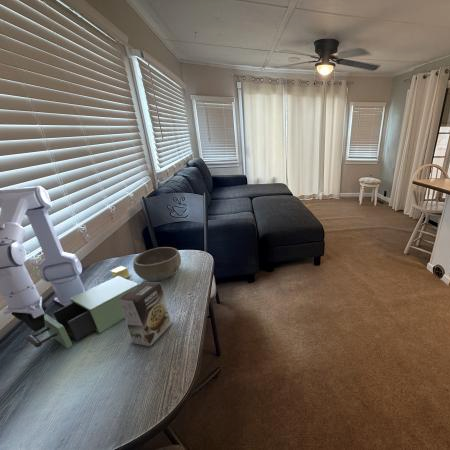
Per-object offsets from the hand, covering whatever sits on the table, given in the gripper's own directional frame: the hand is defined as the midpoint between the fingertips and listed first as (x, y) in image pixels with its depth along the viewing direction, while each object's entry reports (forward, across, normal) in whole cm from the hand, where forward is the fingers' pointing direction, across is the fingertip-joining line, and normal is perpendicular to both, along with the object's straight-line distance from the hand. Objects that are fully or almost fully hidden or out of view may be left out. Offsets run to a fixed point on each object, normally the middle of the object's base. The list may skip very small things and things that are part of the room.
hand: (39, 328), depth 67 cm
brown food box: (+8, +22, +17) cm, 29 cm away
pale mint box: (+8, 0, +17) cm, 19 cm away
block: (+8, -21, +31) cm, 38 cm away
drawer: (+7, 0, +7) cm, 9 cm away
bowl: (+8, -7, +40) cm, 41 cm away
